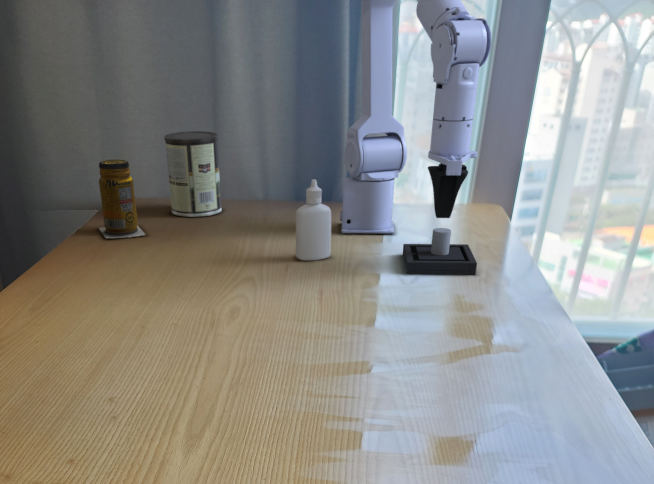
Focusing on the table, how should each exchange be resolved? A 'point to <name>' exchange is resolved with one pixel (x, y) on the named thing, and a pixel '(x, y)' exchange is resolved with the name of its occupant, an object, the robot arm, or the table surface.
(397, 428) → the table surface
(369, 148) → the robot arm
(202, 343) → the table surface
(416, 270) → the socket pad
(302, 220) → the eye dropper bottle
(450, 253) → the stud pad
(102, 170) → the condiment
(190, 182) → the coffee can
